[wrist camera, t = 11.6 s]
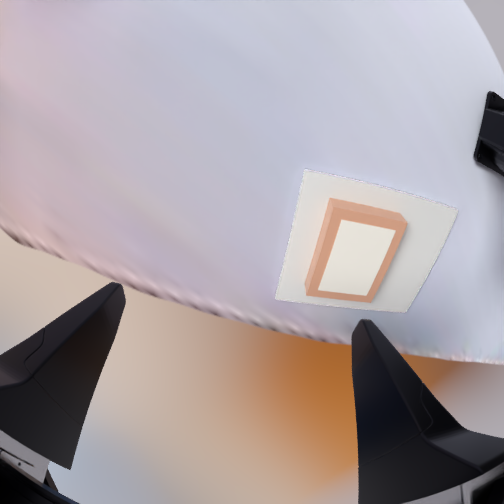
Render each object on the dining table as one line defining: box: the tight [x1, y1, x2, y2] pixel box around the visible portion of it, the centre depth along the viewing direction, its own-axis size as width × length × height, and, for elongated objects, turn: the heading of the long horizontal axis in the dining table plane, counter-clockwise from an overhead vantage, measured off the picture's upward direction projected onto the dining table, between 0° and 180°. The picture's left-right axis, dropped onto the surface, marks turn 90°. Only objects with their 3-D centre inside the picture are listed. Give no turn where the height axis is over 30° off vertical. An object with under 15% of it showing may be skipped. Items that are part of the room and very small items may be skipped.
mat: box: [275, 169, 458, 313], centre depth 22 cm, size 14×12×1 cm
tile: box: [305, 198, 408, 303], centre depth 21 cm, size 2×8×6 cm
